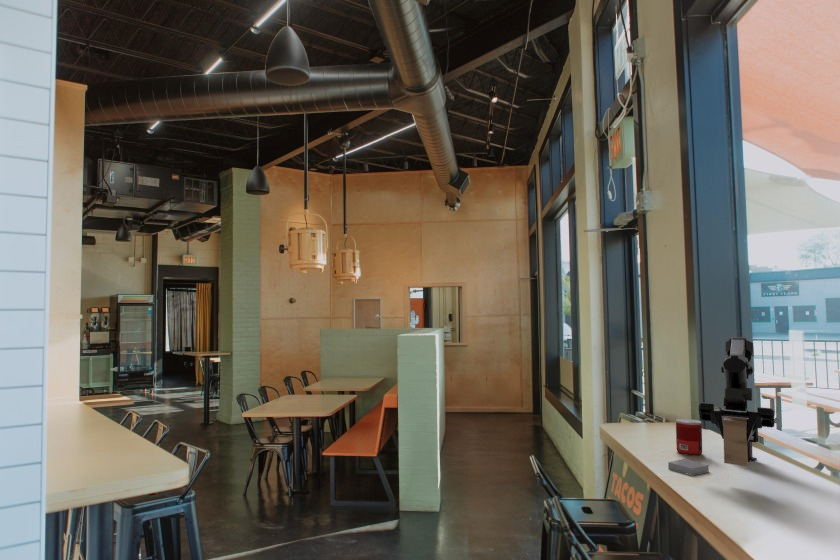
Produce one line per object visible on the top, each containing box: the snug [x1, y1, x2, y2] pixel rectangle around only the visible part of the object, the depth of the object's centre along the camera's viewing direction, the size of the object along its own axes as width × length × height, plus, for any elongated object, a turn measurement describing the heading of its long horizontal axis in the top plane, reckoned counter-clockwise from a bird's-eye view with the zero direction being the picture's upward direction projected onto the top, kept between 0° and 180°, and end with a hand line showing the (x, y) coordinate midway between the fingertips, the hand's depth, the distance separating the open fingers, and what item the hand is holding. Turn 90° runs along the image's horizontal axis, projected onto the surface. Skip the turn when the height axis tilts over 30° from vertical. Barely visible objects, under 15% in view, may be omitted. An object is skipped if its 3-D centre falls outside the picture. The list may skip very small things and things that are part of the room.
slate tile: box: [667, 458, 710, 476], centre depth 167 cm, size 8×8×2 cm
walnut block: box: [722, 416, 749, 467], centre depth 153 cm, size 6×6×12 cm
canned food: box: [675, 418, 703, 456], centre depth 188 cm, size 8×8×11 cm
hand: (735, 439), depth 152 cm, fingers closed on walnut block, 5 cm apart
